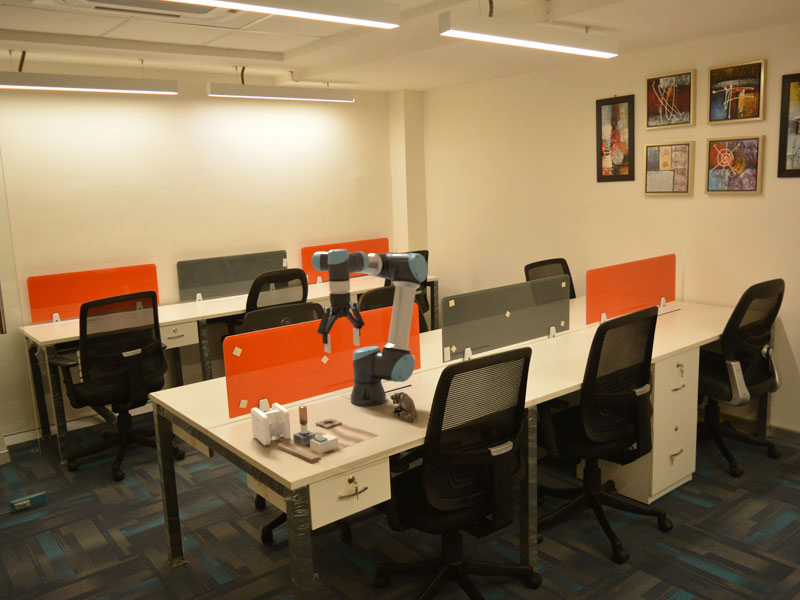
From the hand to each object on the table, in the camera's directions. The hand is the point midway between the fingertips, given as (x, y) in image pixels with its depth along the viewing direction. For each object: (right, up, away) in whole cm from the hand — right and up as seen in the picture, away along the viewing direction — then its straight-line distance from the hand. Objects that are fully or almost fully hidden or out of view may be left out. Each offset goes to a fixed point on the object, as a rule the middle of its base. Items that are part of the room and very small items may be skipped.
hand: (342, 349), depth 254 cm
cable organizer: (-26, -33, -1) cm, 42 cm away
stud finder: (-5, -34, -14) cm, 37 cm away
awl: (-13, -33, -8) cm, 36 cm away
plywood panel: (-4, -33, -6) cm, 34 cm away
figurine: (+23, -29, +18) cm, 41 cm away
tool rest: (-6, -31, +10) cm, 33 cm away
